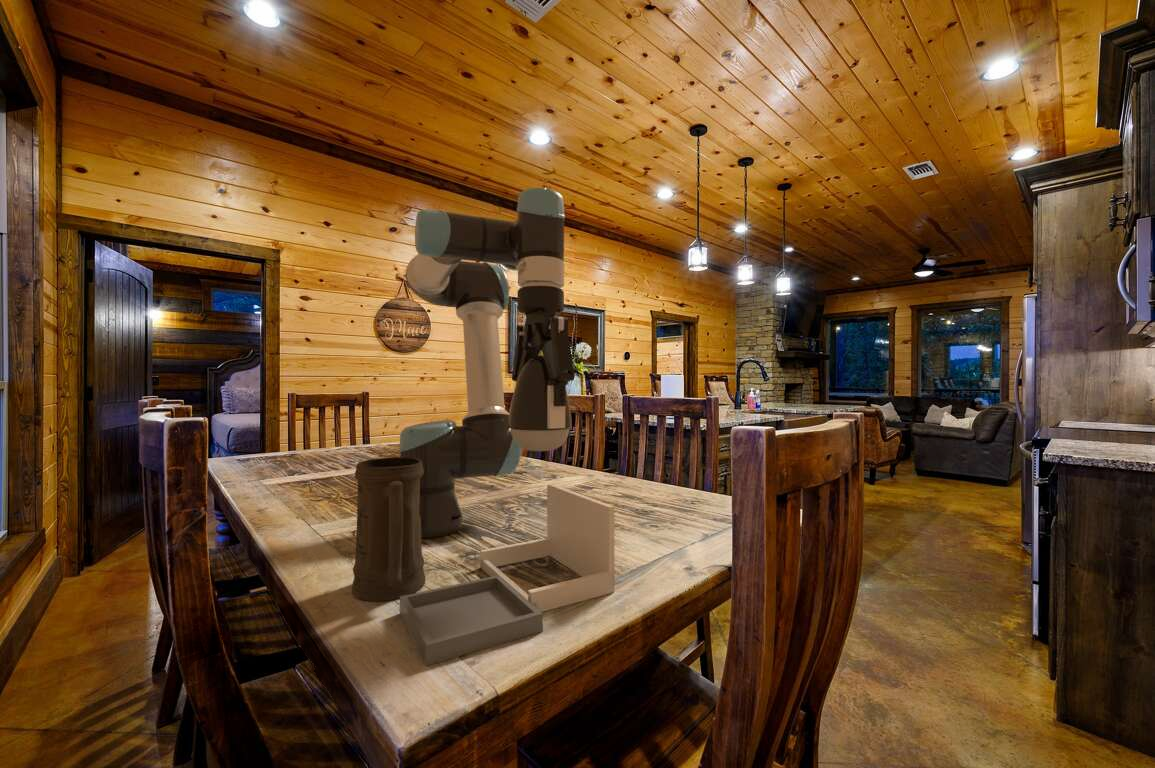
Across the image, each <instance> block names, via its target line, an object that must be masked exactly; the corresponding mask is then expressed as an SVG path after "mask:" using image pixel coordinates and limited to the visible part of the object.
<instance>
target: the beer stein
mask: <svg viewBox="0 0 1155 768" xmlns="http://www.w3.org/2000/svg"><path fill="white" fill-rule="evenodd" d="M423 473H424V470H423V465H422V461H421V460H419V459H416V458H406V457H400V456H396V457H395V456H394V457H381V458H380V457H379V458H372V459H367V460H362V461H360V462H357V464H356V467H355V471H354V478H355V479H356V480H357V501H356V502H357V503H356V504H357V505H356V536H355V554H354V555H355V558H354V564H353V568H352V572H353V573H352V574H353V581H352V584H351V585H352V586H351V594H352V595H353V596H354V597H355V598H357V599H359V600H363V601H368V602H383V601H393V600H397V599H400V596H405V595H409V594H414V593H417V592H418V591H419V590H421V589H422V588H423V586H425V584H426V581H427V580H426V574H425V570H424V565H425V559H424V556H423V550H422V549H423V548H422V538H421V518H420V515H419V502H420V497H419V496H420V478H421V476H422V475H423Z"/></svg>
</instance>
